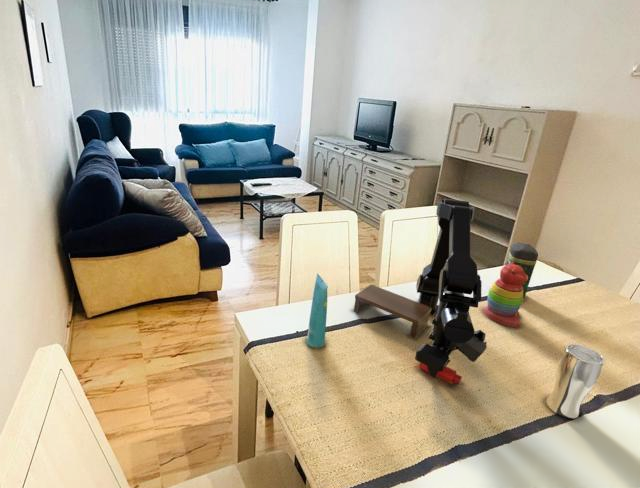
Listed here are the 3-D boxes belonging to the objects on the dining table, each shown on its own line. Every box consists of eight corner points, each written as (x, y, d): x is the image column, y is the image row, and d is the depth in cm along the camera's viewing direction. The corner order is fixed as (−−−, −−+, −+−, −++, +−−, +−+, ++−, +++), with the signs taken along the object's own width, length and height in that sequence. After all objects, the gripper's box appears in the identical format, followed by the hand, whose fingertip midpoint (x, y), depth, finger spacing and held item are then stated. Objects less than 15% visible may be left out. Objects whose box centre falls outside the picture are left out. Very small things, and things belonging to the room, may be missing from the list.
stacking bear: (519, 329, 115) (537, 276, 109) (482, 319, 120) (497, 267, 113) (518, 313, 124) (534, 263, 118) (483, 304, 128) (497, 255, 122)
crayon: (417, 368, 95) (421, 356, 95) (421, 366, 98) (425, 355, 98) (456, 387, 90) (461, 375, 89) (459, 385, 92) (464, 373, 92)
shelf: (368, 300, 127) (371, 284, 125) (428, 324, 115) (431, 307, 113) (352, 311, 120) (355, 294, 118) (414, 339, 108) (418, 321, 106)
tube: (329, 349, 102) (337, 285, 95) (313, 352, 100) (319, 287, 93) (317, 333, 108) (323, 272, 101) (301, 336, 107) (307, 274, 100)
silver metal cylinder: (574, 401, 88) (597, 347, 83) (586, 424, 82) (611, 367, 77) (540, 393, 90) (560, 340, 85) (549, 414, 84) (571, 359, 79)
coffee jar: (526, 303, 130) (542, 253, 124) (500, 297, 133) (514, 248, 126) (521, 290, 139) (536, 243, 132) (497, 286, 142) (510, 239, 135)
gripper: (474, 351, 77) (457, 411, 82) (498, 315, 90) (482, 369, 96) (420, 328, 83) (408, 385, 89) (450, 298, 97) (437, 349, 102)
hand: (436, 371), depth 94 cm, fingers open, 5 cm apart
